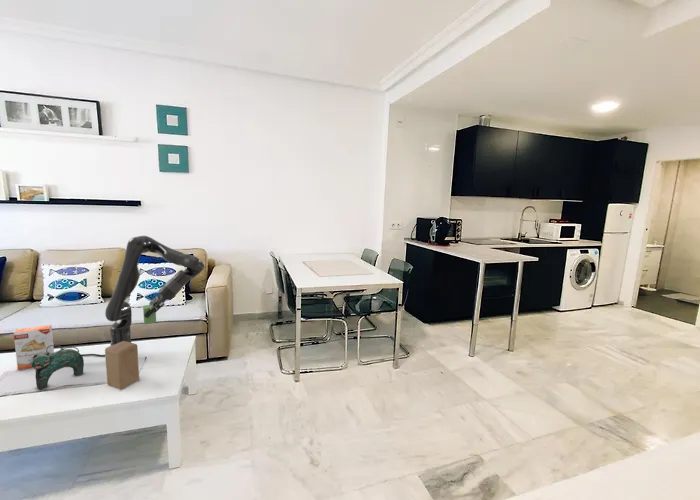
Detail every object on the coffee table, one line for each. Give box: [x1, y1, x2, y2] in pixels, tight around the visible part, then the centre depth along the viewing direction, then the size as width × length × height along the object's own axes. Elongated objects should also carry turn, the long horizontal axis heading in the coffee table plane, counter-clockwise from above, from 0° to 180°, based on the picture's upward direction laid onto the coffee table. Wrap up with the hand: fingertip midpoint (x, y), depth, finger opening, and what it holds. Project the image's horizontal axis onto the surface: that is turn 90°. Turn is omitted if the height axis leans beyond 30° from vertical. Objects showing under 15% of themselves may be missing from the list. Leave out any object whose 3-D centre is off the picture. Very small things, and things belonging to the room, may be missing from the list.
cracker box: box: [13, 324, 55, 371], centre depth 176 cm, size 14×6×21 cm, turn 123°
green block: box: [142, 304, 157, 325], centre depth 165 cm, size 5×5×8 cm
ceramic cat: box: [30, 344, 85, 391], centre depth 163 cm, size 20×6×20 cm, turn 149°
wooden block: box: [104, 341, 140, 390], centre depth 164 cm, size 10×10×20 cm
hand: (145, 314), depth 164 cm, fingers closed on green block, 5 cm apart
